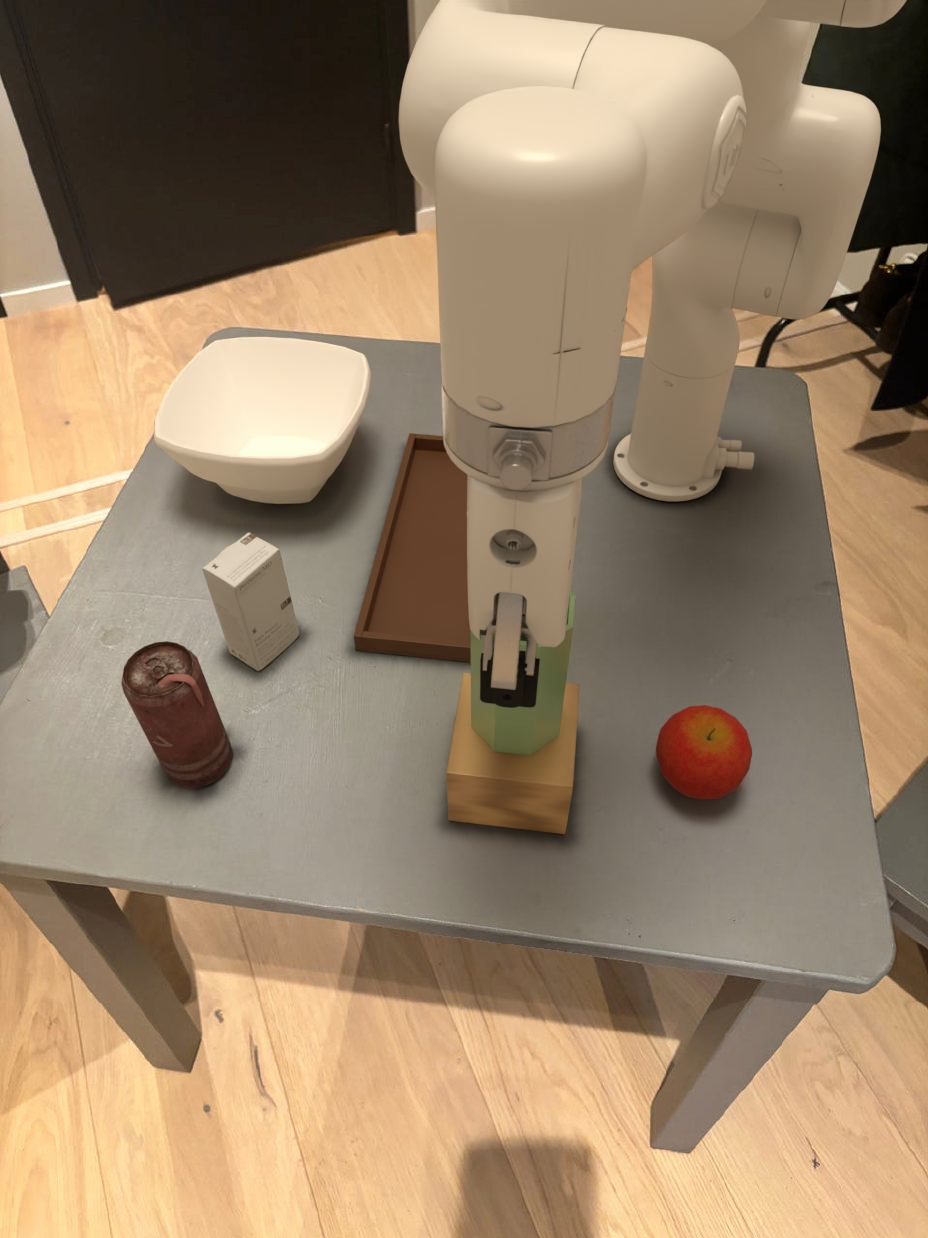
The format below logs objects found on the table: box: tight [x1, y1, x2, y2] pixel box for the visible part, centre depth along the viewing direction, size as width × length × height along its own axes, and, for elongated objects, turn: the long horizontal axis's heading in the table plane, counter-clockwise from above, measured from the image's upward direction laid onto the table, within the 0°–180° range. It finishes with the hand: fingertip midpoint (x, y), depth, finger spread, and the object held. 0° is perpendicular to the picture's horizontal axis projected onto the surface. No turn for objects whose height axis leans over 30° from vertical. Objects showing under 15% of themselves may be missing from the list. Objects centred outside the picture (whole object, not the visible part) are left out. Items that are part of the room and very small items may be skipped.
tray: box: [353, 433, 471, 663], centre depth 97 cm, size 18×32×2 cm, turn 172°
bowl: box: [153, 336, 372, 505], centre depth 102 cm, size 22×22×12 cm
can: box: [121, 640, 233, 789], centre depth 76 cm, size 6×6×14 cm
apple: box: [655, 704, 753, 800], centre depth 76 cm, size 8×8×8 cm
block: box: [445, 672, 580, 835], centre depth 77 cm, size 10×10×8 cm
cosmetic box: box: [201, 532, 300, 672], centre depth 85 cm, size 6×4×12 cm
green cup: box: [470, 589, 576, 756], centre depth 69 cm, size 7×7×14 cm
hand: (513, 657), depth 54 cm, fingers open, 5 cm apart
